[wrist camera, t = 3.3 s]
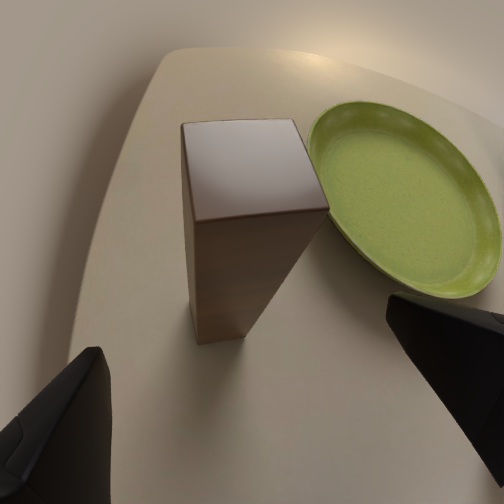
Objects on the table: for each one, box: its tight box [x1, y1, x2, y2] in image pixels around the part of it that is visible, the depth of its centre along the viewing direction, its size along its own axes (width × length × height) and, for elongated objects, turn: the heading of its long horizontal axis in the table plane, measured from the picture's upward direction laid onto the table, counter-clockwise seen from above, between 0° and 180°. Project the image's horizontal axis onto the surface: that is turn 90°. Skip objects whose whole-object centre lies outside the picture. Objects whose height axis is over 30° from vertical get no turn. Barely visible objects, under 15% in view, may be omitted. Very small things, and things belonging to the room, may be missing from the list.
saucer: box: [307, 101, 502, 299], centre depth 25 cm, size 21×21×3 cm
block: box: [181, 119, 330, 345], centre depth 13 cm, size 3×3×14 cm
